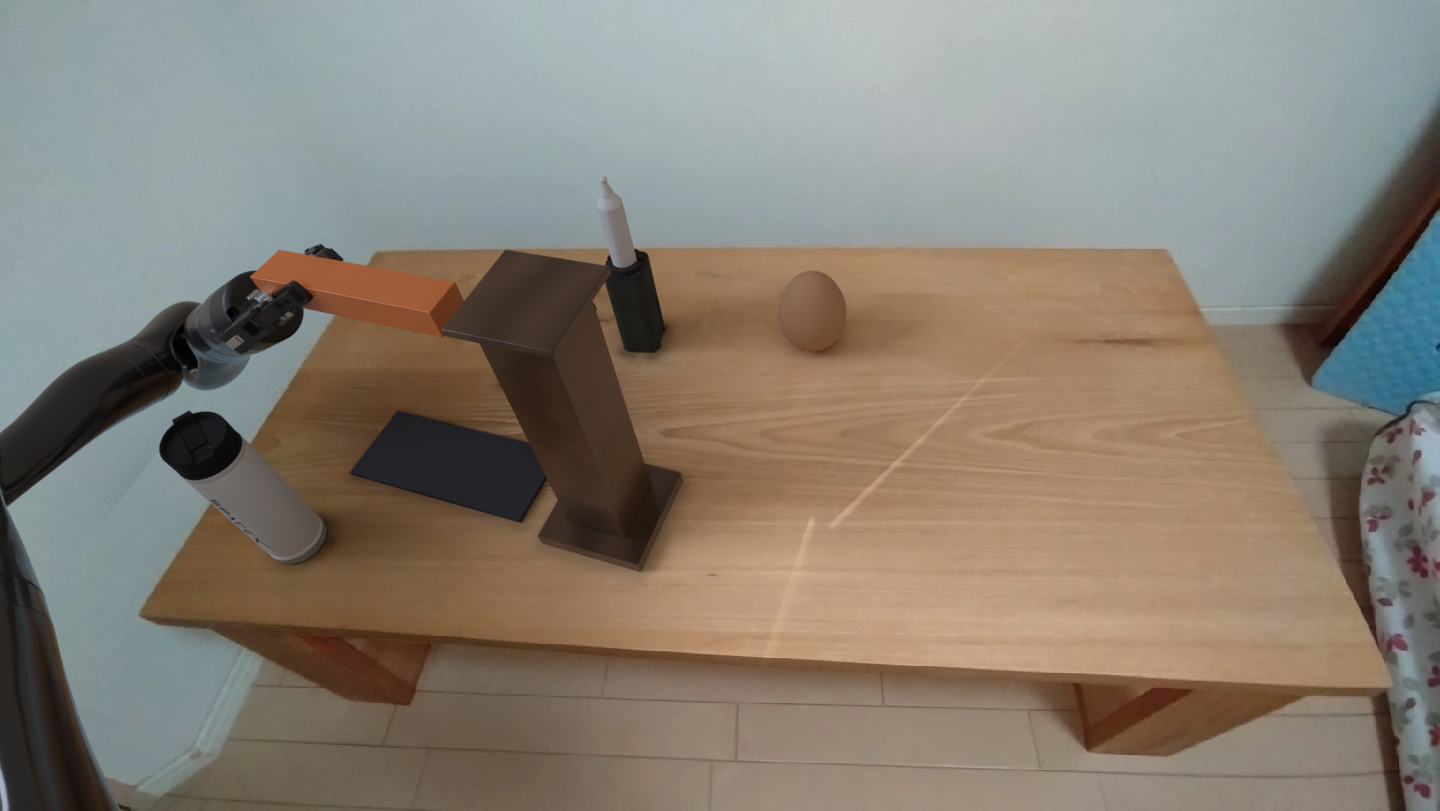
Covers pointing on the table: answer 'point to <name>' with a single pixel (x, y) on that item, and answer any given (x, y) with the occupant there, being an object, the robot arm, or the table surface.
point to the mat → (454, 465)
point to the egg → (812, 311)
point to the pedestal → (568, 403)
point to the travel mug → (242, 486)
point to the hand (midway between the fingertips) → (318, 274)
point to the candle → (629, 279)
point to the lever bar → (364, 291)
